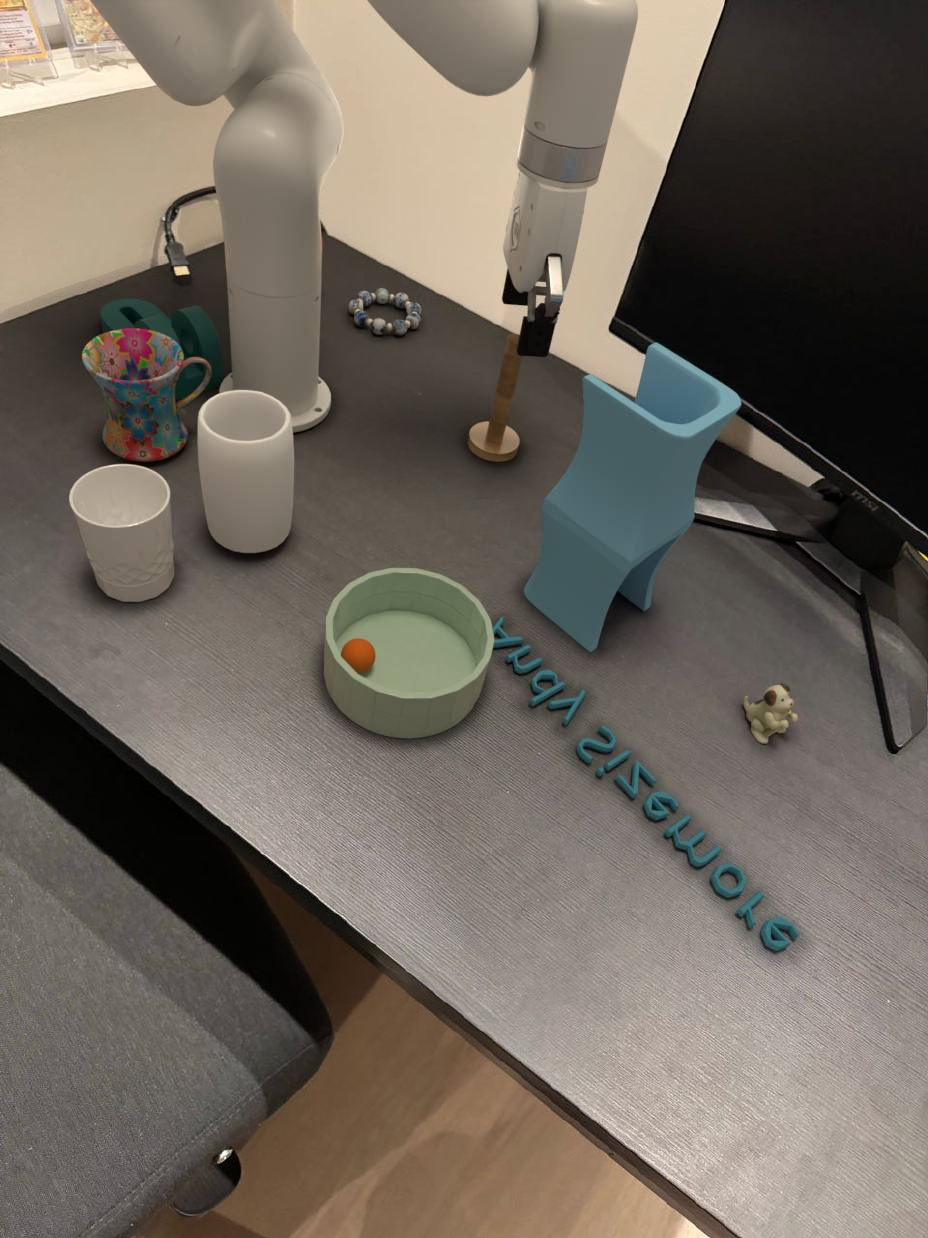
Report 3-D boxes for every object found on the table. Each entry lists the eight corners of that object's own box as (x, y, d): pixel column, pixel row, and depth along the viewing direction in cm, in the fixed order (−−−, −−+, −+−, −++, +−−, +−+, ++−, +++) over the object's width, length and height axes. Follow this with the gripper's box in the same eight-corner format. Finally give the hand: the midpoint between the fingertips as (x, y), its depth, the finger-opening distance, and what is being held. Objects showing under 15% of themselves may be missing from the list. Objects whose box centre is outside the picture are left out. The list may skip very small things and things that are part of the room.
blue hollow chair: (578, 550, 90) (655, 340, 71) (650, 606, 86) (751, 400, 67) (516, 591, 84) (581, 375, 65) (590, 653, 80) (682, 443, 62)
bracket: (223, 385, 98) (219, 323, 92) (170, 402, 95) (162, 339, 89) (145, 310, 106) (136, 249, 100) (93, 323, 102) (81, 261, 96)
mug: (111, 477, 86) (93, 388, 78) (91, 422, 90) (72, 333, 82) (228, 456, 90) (222, 370, 82) (203, 405, 95) (196, 320, 87)
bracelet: (368, 291, 117) (369, 278, 116) (432, 314, 116) (434, 300, 114) (336, 322, 111) (337, 308, 109) (404, 347, 109) (406, 333, 108)
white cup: (197, 563, 80) (188, 482, 72) (150, 620, 75) (135, 539, 67) (123, 535, 81) (106, 452, 73) (71, 589, 76) (48, 506, 68)
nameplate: (508, 616, 82) (467, 636, 79) (509, 611, 81) (469, 631, 79) (805, 929, 65) (766, 967, 63) (809, 926, 65) (770, 964, 62)
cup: (311, 539, 84) (314, 423, 74) (242, 577, 80) (235, 459, 69) (257, 493, 87) (253, 375, 77) (188, 527, 83) (173, 407, 72)
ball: (339, 652, 75) (341, 631, 72) (373, 652, 75) (376, 631, 73) (340, 679, 73) (342, 658, 71) (375, 679, 73) (377, 658, 71)
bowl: (322, 610, 79) (324, 565, 74) (471, 612, 81) (481, 569, 77) (324, 740, 70) (327, 698, 65) (491, 737, 72) (505, 697, 68)
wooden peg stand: (464, 428, 100) (485, 321, 90) (513, 430, 101) (539, 325, 91) (470, 460, 96) (493, 353, 86) (521, 463, 98) (549, 357, 87)
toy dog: (762, 748, 76) (787, 718, 73) (731, 706, 79) (753, 675, 75) (791, 738, 78) (817, 707, 74) (760, 697, 80) (783, 665, 76)
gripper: (505, 111, 80) (477, 283, 92) (537, 192, 69) (500, 374, 81) (581, 120, 81) (543, 288, 94) (624, 200, 70) (575, 378, 83)
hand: (523, 328), depth 88 cm, fingers open, 9 cm apart
